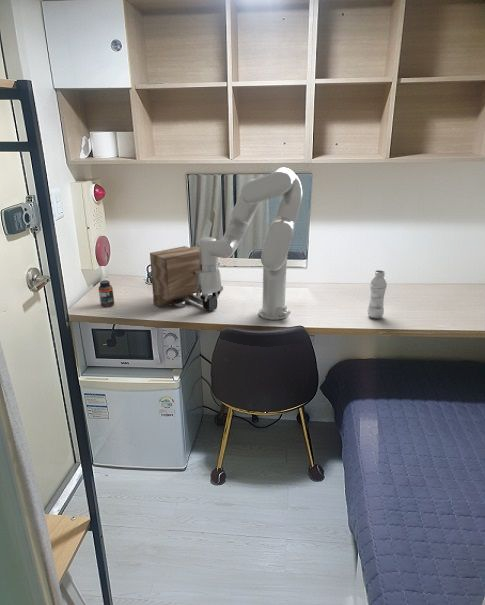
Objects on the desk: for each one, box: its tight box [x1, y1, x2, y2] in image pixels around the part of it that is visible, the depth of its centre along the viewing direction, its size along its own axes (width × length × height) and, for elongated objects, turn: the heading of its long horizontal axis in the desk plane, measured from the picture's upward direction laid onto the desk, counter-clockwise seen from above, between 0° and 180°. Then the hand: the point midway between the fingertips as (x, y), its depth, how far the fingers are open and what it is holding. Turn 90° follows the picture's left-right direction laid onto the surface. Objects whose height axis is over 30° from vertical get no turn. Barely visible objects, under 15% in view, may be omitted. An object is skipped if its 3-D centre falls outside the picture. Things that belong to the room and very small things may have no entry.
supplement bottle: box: [98, 279, 115, 308], centre depth 203 cm, size 6×6×11 cm
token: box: [173, 299, 187, 309], centre depth 203 cm, size 5×5×2 cm
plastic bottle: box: [367, 270, 388, 319], centre depth 188 cm, size 6×7×20 cm
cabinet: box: [149, 245, 200, 309], centre depth 202 cm, size 13×18×24 cm
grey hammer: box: [188, 294, 218, 312], centre depth 202 cm, size 18×4×6 cm, turn 40°
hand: (210, 307), depth 198 cm, fingers closed on grey hammer, 4 cm apart
